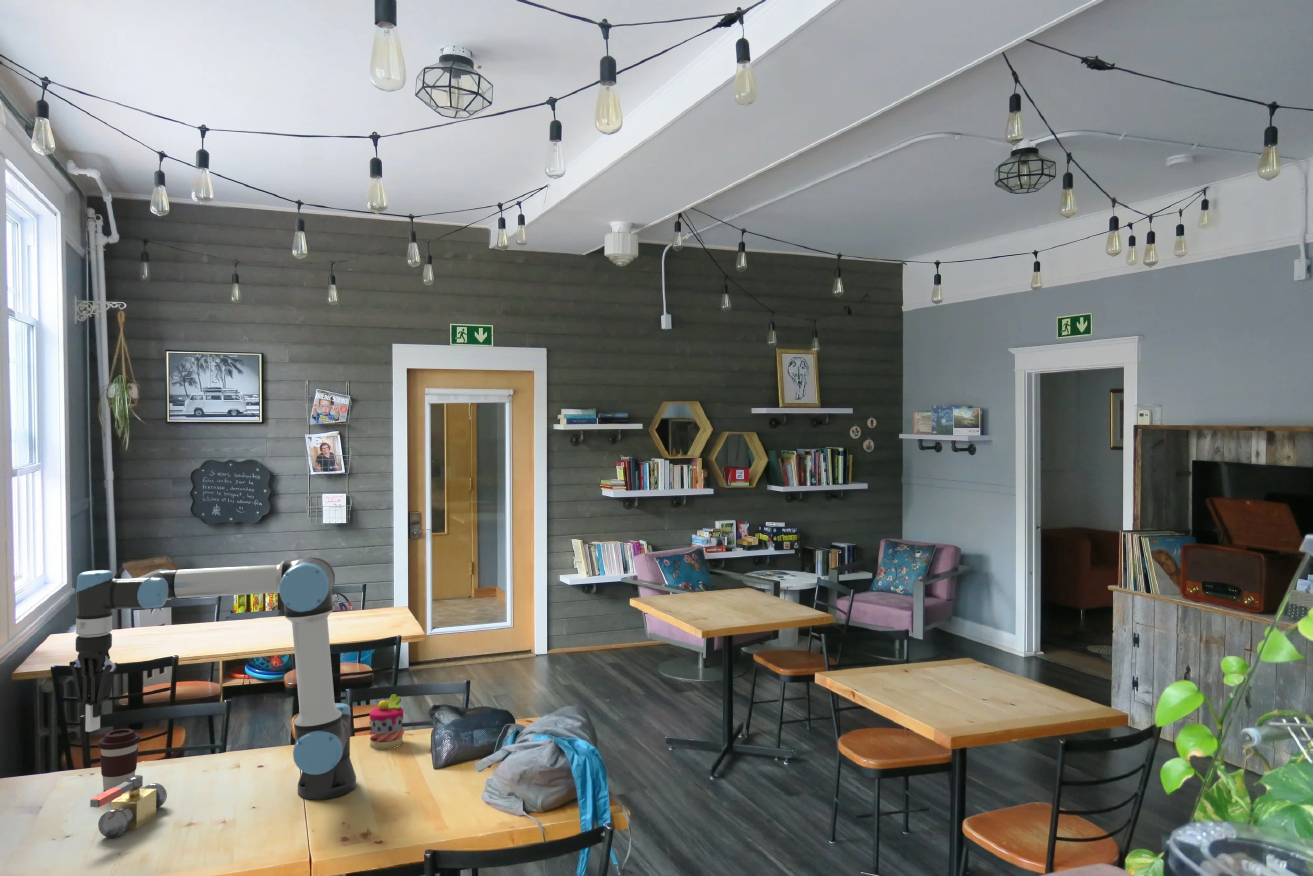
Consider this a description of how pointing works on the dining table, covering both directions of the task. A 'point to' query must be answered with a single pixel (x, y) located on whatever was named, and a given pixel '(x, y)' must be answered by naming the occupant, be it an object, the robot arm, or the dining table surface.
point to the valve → (132, 810)
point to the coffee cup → (118, 756)
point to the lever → (117, 791)
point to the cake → (386, 724)
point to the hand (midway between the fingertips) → (92, 729)
